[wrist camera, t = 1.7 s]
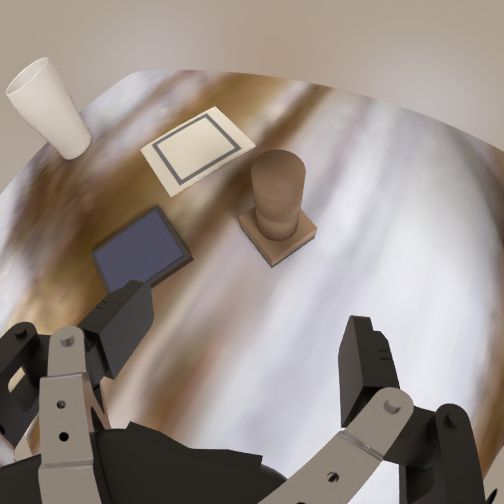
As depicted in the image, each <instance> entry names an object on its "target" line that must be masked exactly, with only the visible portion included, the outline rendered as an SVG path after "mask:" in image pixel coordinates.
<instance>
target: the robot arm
mask: <svg viewBox="0 0 504 504" xmlns="http://www.w3.org/2000/svg"><path fill="white" fill-rule="evenodd" d="M153 318H154V311H153V304H152V296H151V287H150V284H149V283H148V282H143V281H138V280H133V279H131V280H130V281H129V282H128V283H127V284H126V285H125V286H124V287H123V288H122V289H120V288H119V289H117V290H115V291H113V292H111V293H109V294H108V295H107V296H106V297H105V298H104V299H103V300H102V302H100V303H99V304H98V305H97V306H96V308H94V309H93V310H92V311H91V312H90V313H89V314H88V315H87V316H86V317H85V318H84V319H83V320H82V321H81V322H80V323H79V324H78V325H77V326H76V327H74V326H66V327H62V328H60V329H58V330H56V331H55V332H54V333H53V334H52V336H51V335H41V334H38V333H37V331H36V328H35V326H34V325H33V324H32V323H30V322H21V323H18V324H16V325H14V326H12V327H11V328H10V329H9V330H8V331H7V332H6V333H5V334H4V335H3V336H2V337H1V338H0V504H347V503H348V502H349V501H350V500H351V499H352V498H353V496H354V495H355V494H356V493H357V492H358V491H359V490H360V488H361V487H362V486H363V485H364V484H365V482H366V481H367V480H368V479H369V477H370V476H371V475H372V474H373V472H374V471H375V470H376V468H377V467H378V466H379V464H380V463H381V462H382V460H385V461H388V462H392V463H396V464H399V504H486V501H485V493H484V487H483V480H482V474H481V468H480V463H479V458H478V453H477V448H476V444H475V440H474V436H473V431H472V428H471V424H470V420H469V417H468V415H467V413H466V412H465V410H464V409H462V408H461V407H460V406H458V405H455V404H450V403H449V404H444V405H442V406H440V407H439V408H438V409H437V411H436V412H434V411H430V410H426V409H422V408H419V407H416V406H414V405H413V401H412V399H411V398H410V396H409V395H408V394H407V393H405V392H404V391H402V390H400V386H399V382H398V377H397V373H396V369H395V365H394V361H393V360H392V359H393V358H392V354H391V352H390V351H391V350H390V347H389V343H388V340H387V339H386V338H385V336H384V335H383V334H382V333H381V331H373V327H372V323H371V319H370V317H363V316H354V315H351V316H350V317H349V320H348V323H347V326H346V329H345V332H344V335H343V339H342V342H341V345H340V348H339V354H338V366H339V383H340V406H341V428H346V429H345V430H344V431H340V432H338V433H337V434H336V435H335V436H334V437H333V438H332V439H331V440H330V441H329V442H328V443H327V444H326V445H325V446H324V447H323V448H322V449H321V450H320V451H319V452H318V453H317V454H316V455H315V456H314V457H313V458H312V459H311V460H310V461H308V462H307V463H306V464H305V465H304V466H303V467H302V468H301V469H300V470H298V471H297V472H296V473H295V474H294V475H293V476H292V477H290V478H289V479H287V478H286V477H284V476H283V475H282V474H280V473H279V472H277V471H276V470H274V469H272V468H270V467H268V466H265V465H263V464H261V462H262V457H263V456H261V455H255V454H249V453H243V452H238V451H233V450H228V449H191V448H188V447H186V446H184V445H182V444H180V443H179V442H177V441H175V440H173V439H172V438H170V437H168V436H166V435H165V434H163V433H161V432H159V431H156V430H153V429H150V428H147V427H145V426H142V425H139V424H136V423H133V422H131V421H130V423H129V424H128V426H127V428H126V429H111V426H110V423H109V420H108V415H107V410H106V405H105V399H104V393H103V387H102V383H101V379H102V378H103V377H104V376H105V377H108V378H111V379H113V380H114V379H115V378H116V376H117V375H118V373H119V372H120V371H121V369H122V368H123V366H124V365H125V363H126V362H127V360H128V359H129V357H130V356H131V355H132V353H133V352H134V350H135V349H136V347H137V346H138V344H139V343H140V342H141V340H142V339H143V337H144V336H145V334H146V333H147V332H148V330H149V329H150V327H151V325H152V323H153ZM20 367H22V369H23V371H24V373H25V375H24V376H23V378H22V379H21V380H20V381H19V383H18V384H17V385H16V387H15V388H14V389H13V391H12V392H11V393H10V392H9V390H8V383H9V381H10V379H11V378H12V377H13V376H14V374H15V373H16V372H17V371H18V369H19V368H20ZM38 412H39V423H40V445H41V454H38V455H35V456H32V457H30V458H27V459H23V460H20V461H17V462H16V460H15V459H14V450H15V448H16V446H17V445H18V443H19V441H20V440H21V438H22V436H23V435H24V433H25V432H26V430H27V429H28V427H29V426H30V424H31V422H32V421H33V419H34V418H35V416H36V415H37V413H38Z"/></svg>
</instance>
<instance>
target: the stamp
mask: <svg viewBox="0 0 504 504" xmlns="http://www.w3.org/2000/svg"><path fill="white" fill-rule="evenodd" d="M305 172H306V171H305V166H304V164H303V162H302V160H301V159H300V158H299V157H298V156H296V155H295V154H293V153H291V152H289V151H285V150H271V151H267V152H265V153H263V154H261V155H259V156H258V157H257V158H256V159H255V160H254V162H253V164H252V167H251V177H252V185H253V193H254V201H255V207H254V208H253V209H251V210H250V211H248V212H246V213H245V214H243V215H242V216H240V217H239V221H240V225H241V228H242V230H243V231H244V232H245V234H246V235H247V236H248V238H249V239H250V240H251V241H252V243H253V244H254V245H255V247H256V248H257V249H258V251H259V252H260V253H261V254H262V256H263V257H264V258H265V260H266V261H267V262H268V264H269V265H270V266H271V267H272V268H273V267H274V266H276V265H277V264H278V263H280V262H281V261H283V260H284V259H285V258H287V257H288V256H290V255H291V254H293V253H294V252H295V251H297V250H298V249H300V248H301V247H302V246H304V245H305V244H307V243H308V242H309V241H311V240H312V239H314V237H315V234H316V231H317V227H316V226H315V225H314V224H313V223H312V221H311V220H310V219H309V218H308V217H307V216H306V215H305V213H304V212H303V211H302V210H301V209H300V208H301V202H302V195H303V188H304V181H305Z"/></svg>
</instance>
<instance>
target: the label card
mask: <svg viewBox="0 0 504 504" xmlns="http://www.w3.org/2000/svg"><path fill="white" fill-rule="evenodd" d="M254 147H255V144H254V143H253V142H252V141H251V140H250V139H249V138H248V137H247V136H246V135H245V134H244V133H242V132H241V131H240V130H239V129H238V128H237V127H236V126H235V125H234V124H233V123H232V122H231V121H230V120H229V119H228V118H227V117H226V116H225V115H224V114H223V113H221V112H220V111H219V110H218V109H217V108H216V107H213V108H211V109H209V110H207V111H205V112H203V113H201V114H199V115H198V116H196V117H194V118H192V119H190V120H188V121H187V122H185V123H183V124H181V125H179V126H178V127H176V128H174V129H172V130H171V131H169V132H167V133H166V134H164V135H162V136H161V137H159V138H157V139H156V140H154V141H152V142H151V143H149V144H148V145H146V146H144V147H143V148H141V149H140V150H141V152H142V153H143V155H144V157H145V158H146V160H147V161H148V163H149V164H150V166H151V168H152V169H153V171H154V172H155V174H156V175H157V177H158V179H159V180H160V182H161V183H162V185H163V186H164V188H165V189H166V191H167V193H168V194H169V196H170V197H171V198H172V197H173V196H175V195H176V194H178V193H179V192H181V191H182V190H184V189H186V188H187V187H189V186H190V185H192V184H193V183H195V182H197V181H198V180H200V179H201V178H203V177H205V176H206V175H208V174H210V173H211V172H213V171H215V170H216V169H218V168H220V167H221V166H223V165H225V164H226V163H228V162H230V161H231V160H233V159H235V158H237V157H238V156H240V155H242V154H244V153H245V152H247V151H249V150H251V149H252V148H254Z"/></svg>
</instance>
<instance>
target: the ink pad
mask: <svg viewBox="0 0 504 504" xmlns="http://www.w3.org/2000/svg"><path fill="white" fill-rule="evenodd" d="M91 256H92V258H93V261H94V263H95V265H96V268H97V270H98V273H99V275H100V277H101V280H102V282H103V284H104V286H105V289H106V291H107V293H108V294H109V293H111V292H113V291H115V290H117V289H119V288H120V289H122V288H123V287H124V286H125V285H126V284H127V283H128V282H129V281H130V280H131V279H133V280H138V281H143V282H148V283H149V284H150V287H151V288H153V287H154V286H156V285H157V284H159V283H160V282H161V281H163V280H164V279H166V278H167V277H169V276H170V275H172V274H173V273H175V272H176V271H177V270H179V269H180V268H182V267H183V266H185V265H186V264H188V263H189V262H191V261H192V260H193V259H192V257H191V255H190V254H189V252H188V251H187V249H186V248H185V246H184V245H183V243H182V241H181V240H180V238H179V237H178V235H177V233H176V232H175V230H174V229H173V227H172V225H171V224H170V222H169V221H168V219H167V217H166V216H165V214H164V213H163V211H162V209H161V208H160V206H159V205H157V206H156V207H154V208H153V209H151V210H150V211H148V212H147V213H145V214H144V215H143V216H141V217H140V218H138V219H137V220H135V221H134V222H133V223H131V224H130V225H128V226H127V227H126V228H124V229H123V230H121V231H120V232H119V233H117V234H116V235H114V236H113V237H112V238H110V239H109V240H108V241H106V242H105V243H104V244H102V245H101V246H100V247H98V248H97V249H96V250H94V251H93V252H92V253H91Z"/></svg>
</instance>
